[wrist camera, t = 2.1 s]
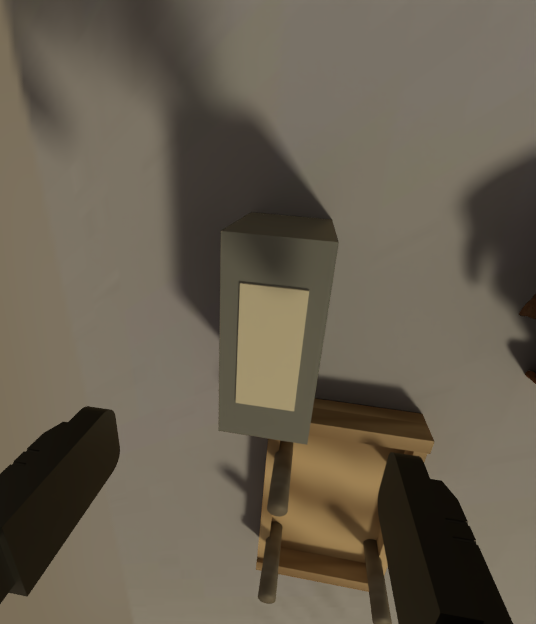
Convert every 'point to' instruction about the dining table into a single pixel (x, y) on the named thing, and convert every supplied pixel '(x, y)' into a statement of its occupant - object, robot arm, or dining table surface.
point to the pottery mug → (532, 310)
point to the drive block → (273, 322)
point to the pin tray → (334, 499)
